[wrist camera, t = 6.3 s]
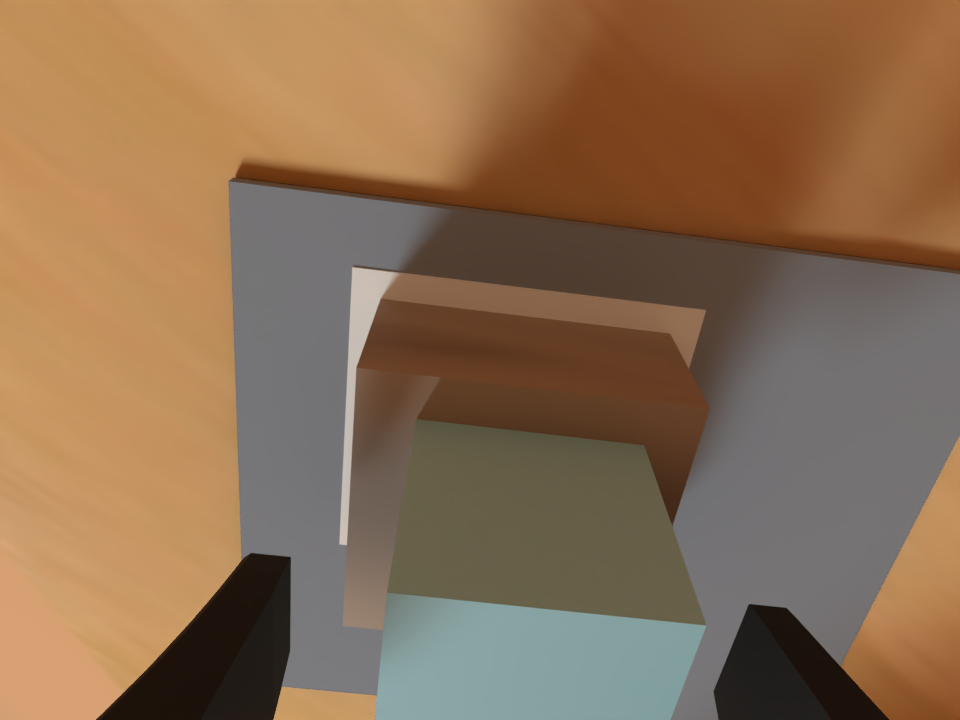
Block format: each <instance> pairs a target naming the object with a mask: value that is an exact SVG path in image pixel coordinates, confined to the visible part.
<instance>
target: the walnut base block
mask: <svg viewBox="0 0 960 720" xmlns="http://www.w3.org/2000/svg"><path fill="white" fill-rule="evenodd" d="M709 410H710V407H709V406H708V404H707V402H706V400H705V398H704V396H703V394H702V392H701V391H700V389H699V387H698V385H697V383H696V381H695V379H694V378H693V376H692V374H691V372H690V370H689V368H688V366H687V364H686V363H685V361H684V359H683V357H682V355H681V353H680V351H679V349H678V348H677V346H676V344H675V342H674V340H673V338H672V336H671V334H669V333H661V332H653V331H644V330H636V329H628V328H619V327H611V326H603V325H595V324H586V323H578V322H570V321H561V320H553V319H545V318H536V317H528V316H520V315H511V314H503V313H495V312H486V311H478V310H470V309H461V308H453V307H445V306H437V305H428V304H420V303H412V302H403V301H395V300H387V299H380V302H379V305H378V307H377V310H376V313H375V316H374V319H373V322H372V325H371V327H370V330H369V333H368V336H367V339H366V342H365V345H364V347H363V350H362V353H361V356H360V359H359V362H358V364H357V367H356V384H355V403H354V421H353V440H352V459H351V478H350V496H349V515H348V534H347V553H346V572H345V590H344V609H343V626H348V627H359V628H369V629H379V630H383V628H384V617H385V607H386V596H387V589H388V583H389V577H390V571H391V565H392V559H393V553H394V547H395V541H396V535H397V529H398V523H399V518H400V512H401V506H402V500H403V494H404V488H405V482H406V476H407V470H408V464H409V458H410V452H411V446H412V440H413V435H414V429H415V423H416V419H420V420H429V421H437V422H446V423H455V424H464V425H472V426H481V427H490V428H498V429H507V430H516V431H524V432H533V433H542V434H550V435H559V436H568V437H576V438H585V439H594V440H602V441H611V442H620V443H628V444H637V445H644V446H645V449H646V452H647V455H648V458H649V461H650V464H651V466H652V469H653V472H654V475H655V478H656V481H657V484H658V487H659V490H660V492H661V495H662V498H663V501H664V504H665V507H666V510H667V513H668V516H669V519H670V521H671V524H672V526H673V523H674V520H675V517H676V514H677V511H678V507H679V504H680V501H681V498H682V495H683V492H684V489H685V485H686V482H687V479H688V476H689V473H690V470H691V467H692V464H693V460H694V457H695V454H696V451H697V448H698V445H699V442H700V438H701V435H702V432H703V429H704V426H705V423H706V420H707V417H708V413H709Z"/></svg>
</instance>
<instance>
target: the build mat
mask: <svg viewBox="0 0 960 720" xmlns="http://www.w3.org/2000/svg"><path fill="white" fill-rule="evenodd" d="M229 205H230V234H231V263H232V292H233V321H234V350H235V379H236V408H237V437H238V466H239V495H240V524H241V553H242V559H243V558H244V557H246V556H247V555H249V554H250V553H257V554H267V555H277V556H286V557H291V615H290V654H289V658H288V662H287V666H286V671H285V675H284V679H283V683H282V687H292V688H303V689H314V690H324V691H335V692H346V693H356V694H367V695H377V691H378V681H379V670H380V659H381V649H382V638H383V630H379V629H369V628H359V627H348V626H343V609H344V590H345V572H346V553H347V534H348V515H349V496H350V478H351V459H352V440H353V421H354V403H355V384H356V367H357V364H358V362H359V359H360V356H361V353H362V350H363V347H364V345H365V342H366V339H367V336H368V333H369V330H370V327H371V325H372V322H373V319H374V316H375V313H376V310H377V307H378V305H379V302H380V299H387V300H395V301H403V302H412V303H420V304H428V305H437V306H445V307H453V308H461V309H470V310H478V311H486V312H495V313H503V314H511V315H520V316H528V317H536V318H545V319H553V320H561V321H570V322H578V323H586V324H595V325H603V326H611V327H619V328H628V329H636V330H644V331H653V332H661V333H669V334H671V336H672V338H673V340H674V342H675V344H676V346H677V348H678V349H679V351H680V353H681V355H682V357H683V359H684V361H685V363H686V364H687V366H688V368H689V370H690V372H691V374H692V376H693V378H694V379H695V381H696V383H697V385H698V387H699V389H700V391H701V392H702V394H703V396H704V398H705V400H706V402H707V404H708V406H709V407H710V410H709V413H708V417H707V420H706V423H705V426H704V429H703V432H702V435H701V438H700V442H699V445H698V448H697V451H696V454H695V457H694V460H693V464H692V467H691V470H690V473H689V476H688V479H687V482H686V485H685V489H684V492H683V495H682V498H681V501H680V504H679V507H678V511H677V514H676V517H675V520H674V523H673V526H672V527H673V530H674V533H675V536H676V539H677V542H678V545H679V547H680V550H681V553H682V556H683V559H684V562H685V565H686V568H687V571H688V574H689V576H690V579H691V582H692V585H693V588H694V591H695V594H696V597H697V600H698V602H699V605H700V608H701V611H702V614H703V617H704V620H705V623H706V628H705V631H704V633H703V636H702V639H701V641H700V644H699V646H698V649H697V652H696V654H695V657H694V660H693V662H692V665H691V667H690V670H689V673H688V675H687V678H686V680H685V683H684V686H683V688H682V691H681V694H680V696H679V699H678V701H677V704H676V707H675V709H674V712H673V714H672V717H671V720H718V714H717V709H716V703H715V698H714V692H713V691H714V689H715V686H716V684H717V681H718V679H719V676H720V674H721V671H722V669H723V666H724V664H725V662H726V659H727V657H728V654H729V652H730V649H731V647H732V644H733V642H734V639H735V637H736V634H737V632H738V630H739V627H740V625H741V622H742V620H743V617H744V615H745V612H746V610H747V607H748V605H749V604H755V605H765V606H775V607H784V608H787V609H788V610H789V611H790V612H791V613H792V614H793V615H794V616H795V617H796V618H797V619H798V620H799V621H800V622H801V624H802V625H803V626H804V627H805V628H806V629H807V630H808V631H809V632H810V633H811V634H812V636H813V637H814V638H815V639H816V640H817V641H818V642H819V643H820V644H821V645H822V647H823V648H824V649H825V650H826V651H827V652H828V653H829V654H830V655H831V657H832V658H833V659H834V660H835V661H836V662H837V663H838V664H839V665H840V666H841V664H842V662H843V661H844V659H845V657H846V655H847V653H848V651H849V649H850V647H851V645H852V643H853V641H854V639H855V637H856V635H857V633H858V631H859V630H860V628H861V626H862V624H863V622H864V620H865V618H866V616H867V614H868V612H869V610H870V608H871V606H872V604H873V602H874V600H875V598H876V597H877V595H878V593H879V591H880V589H881V587H882V585H883V583H884V581H885V579H886V577H887V575H888V573H889V571H890V569H891V567H892V566H893V564H894V562H895V560H896V558H897V556H898V554H899V552H900V550H901V548H902V546H903V544H904V542H905V540H906V538H907V536H908V534H909V533H910V531H911V529H912V527H913V525H914V523H915V521H916V519H917V517H918V515H919V513H920V511H921V509H922V507H923V505H924V503H925V502H926V500H927V498H928V496H929V494H930V492H931V490H932V488H933V486H934V484H935V482H936V480H937V478H938V476H939V474H940V472H941V470H942V469H943V467H944V465H945V463H946V461H947V459H948V457H949V455H950V453H951V451H952V449H953V447H954V445H955V443H956V441H957V439H958V438H959V436H960V270H956V269H948V268H940V267H932V266H924V265H917V264H909V263H901V262H893V261H885V260H877V259H869V258H862V257H854V256H846V255H838V254H830V253H822V252H814V251H807V250H799V249H791V248H783V247H775V246H767V245H759V244H752V243H744V242H736V241H728V240H720V239H712V238H704V237H696V236H689V235H681V234H673V233H665V232H657V231H649V230H641V229H634V228H626V227H618V226H610V225H602V224H594V223H586V222H579V221H571V220H563V219H555V218H547V217H539V216H531V215H524V214H516V213H508V212H500V211H492V210H484V209H476V208H469V207H461V206H453V205H445V204H437V203H429V202H421V201H414V200H406V199H398V198H390V197H382V196H374V195H366V194H359V193H351V192H343V191H335V190H327V189H319V188H311V187H303V186H296V185H288V184H280V183H272V182H264V181H256V180H248V179H241V178H232V179H231V180H230V181H229Z"/></svg>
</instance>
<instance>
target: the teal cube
mask: <svg viewBox="0 0 960 720" xmlns="http://www.w3.org/2000/svg"><path fill="white" fill-rule="evenodd" d="M705 628H706V623H705V620H704V617H703V614H702V611H701V608H700V605H699V602H698V600H697V597H696V594H695V591H694V588H693V585H692V582H691V579H690V576H689V574H688V571H687V568H686V565H685V562H684V559H683V556H682V553H681V550H680V547H679V545H678V542H677V539H676V536H675V533H674V530H673V527H672V524H671V521H670V519H669V516H668V513H667V510H666V507H665V504H664V501H663V498H662V495H661V492H660V490H659V487H658V484H657V481H656V478H655V475H654V472H653V469H652V466H651V464H650V461H649V458H648V455H647V452H646V449H645V446H644V445H637V444H628V443H620V442H611V441H602V440H594V439H585V438H576V437H568V436H559V435H550V434H542V433H533V432H524V431H516V430H507V429H498V428H490V427H481V426H472V425H464V424H455V423H446V422H437V421H429V420H420V419H416V423H415V429H414V435H413V440H412V446H411V452H410V458H409V464H408V470H407V476H406V482H405V488H404V494H403V500H402V506H401V512H400V518H399V523H398V529H397V535H396V541H395V547H394V553H393V559H392V565H391V571H390V577H389V583H388V589H387V596H386V607H385V617H384V628H383V638H382V649H381V659H380V670H379V681H378V691H377V702H376V712H375V720H671V717H672V714H673V712H674V709H675V707H676V704H677V701H678V699H679V696H680V694H681V691H682V688H683V686H684V683H685V680H686V678H687V675H688V673H689V670H690V667H691V665H692V662H693V660H694V657H695V654H696V652H697V649H698V646H699V644H700V641H701V639H702V636H703V633H704V631H705Z"/></svg>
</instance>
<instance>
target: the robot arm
mask: <svg viewBox="0 0 960 720" xmlns="http://www.w3.org/2000/svg"><path fill="white" fill-rule="evenodd" d="M290 615H291V557H286V556H277V555H267V554H257V553H250V554H249V555H247V556H246V557H244V558H243V559H242V561H241V562H240V563H239V565H238V566H237V567H236V569H235V570H234V571H233V572H232V574H231V575H230V576H229V577H228V579H227V580H226V581H225V582H224V584H223V585H222V586H221V587H220V588H219V590H218V591H217V592H216V593H215V594H214V596H213V597H212V598H211V599H210V600H209V602H208V603H207V604H206V605H205V606H204V607H203V609H202V610H201V611H200V612H199V613H198V614H197V615H196V617H195V618H194V619H193V620H192V621H191V622H190V623H189V625H188V626H187V627H186V628H185V629H184V630H183V631H182V632H181V633H180V634H179V635H178V637H177V638H176V639H175V640H174V641H173V642H172V643H171V644H170V645H169V646H168V647H167V649H166V650H165V651H164V652H163V653H162V654H161V655H160V656H159V657H158V658H157V659H156V660H155V662H154V663H153V664H152V665H151V666H150V667H149V668H148V669H147V670H146V671H145V672H144V673H143V674H142V675H141V676H140V677H139V678H138V679H137V680H136V681H135V682H134V683H133V684H132V685H131V686H130V687H129V688H128V689H127V690H126V691H125V692H124V693H123V694H122V695H121V696H120V697H119V698H118V699H117V700H116V701H115V702H114V703H113V704H112V705H111V706H110V707H109V708H108V709H107V710H106V711H105V712H104V713H103V714H102V715H101V716H99V717H98V718H97V719H96V720H273V718H274V715H275V711H276V707H277V703H278V699H279V695H280V691H281V687H282V683H283V679H284V675H285V671H286V666H287V662H288V658H289V654H290ZM713 692H714V698H715V703H716V709H717V714H718V720H889V719H888V718H887V717H886V716H885V715H884V714H883V712H882V711H881V710H880V709H879V708H878V707H877V706H876V705H875V704H874V703H873V702H872V701H871V699H870V698H869V697H868V696H867V695H866V694H865V693H864V692H863V691H862V690H861V689H860V688H859V686H858V685H857V684H856V683H855V682H854V681H853V680H852V679H851V678H850V676H849V675H848V674H847V673H846V672H845V671H844V670H843V669H842V668H841V667H840V665H839V664H838V663H837V662H836V661H835V660H834V659H833V658H832V657H831V655H830V654H829V653H828V652H827V651H826V650H825V649H824V648H823V647H822V645H821V644H820V643H819V642H818V641H817V640H816V639H815V638H814V637H813V636H812V634H811V633H810V632H809V631H808V630H807V629H806V628H805V627H804V626H803V625H802V624H801V622H800V621H799V620H798V619H797V618H796V617H795V616H794V615H793V614H792V613H791V612H790V611H789V610H788V609H787V608H784V607H775V606H765V605H755V604H749V605H748V607H747V610H746V612H745V615H744V617H743V620H742V622H741V625H740V627H739V630H738V632H737V634H736V637H735V639H734V642H733V644H732V647H731V649H730V652H729V654H728V657H727V659H726V662H725V664H724V666H723V669H722V671H721V674H720V676H719V679H718V681H717V684H716V686H715V689H714V691H713Z"/></svg>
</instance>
